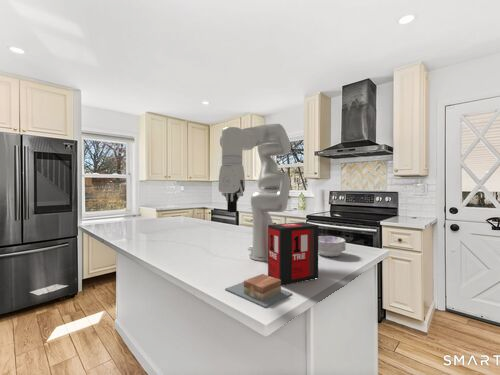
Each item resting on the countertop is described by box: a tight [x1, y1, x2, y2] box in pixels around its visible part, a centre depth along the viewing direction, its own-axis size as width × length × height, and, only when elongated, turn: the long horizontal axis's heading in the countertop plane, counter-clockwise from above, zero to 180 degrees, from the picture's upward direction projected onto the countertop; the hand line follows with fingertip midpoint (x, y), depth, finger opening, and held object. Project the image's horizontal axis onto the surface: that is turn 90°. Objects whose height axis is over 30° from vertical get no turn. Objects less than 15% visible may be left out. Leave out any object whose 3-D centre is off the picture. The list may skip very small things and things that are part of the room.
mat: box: [224, 281, 293, 309], centre depth 86 cm, size 18×13×1 cm
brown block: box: [243, 273, 282, 301], centre depth 85 cm, size 4×9×8 cm
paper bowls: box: [318, 235, 347, 258], centre depth 132 cm, size 15×15×8 cm
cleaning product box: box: [267, 221, 319, 287], centre depth 99 cm, size 16×9×20 cm, turn 115°
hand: (232, 212), depth 96 cm, fingers closed
